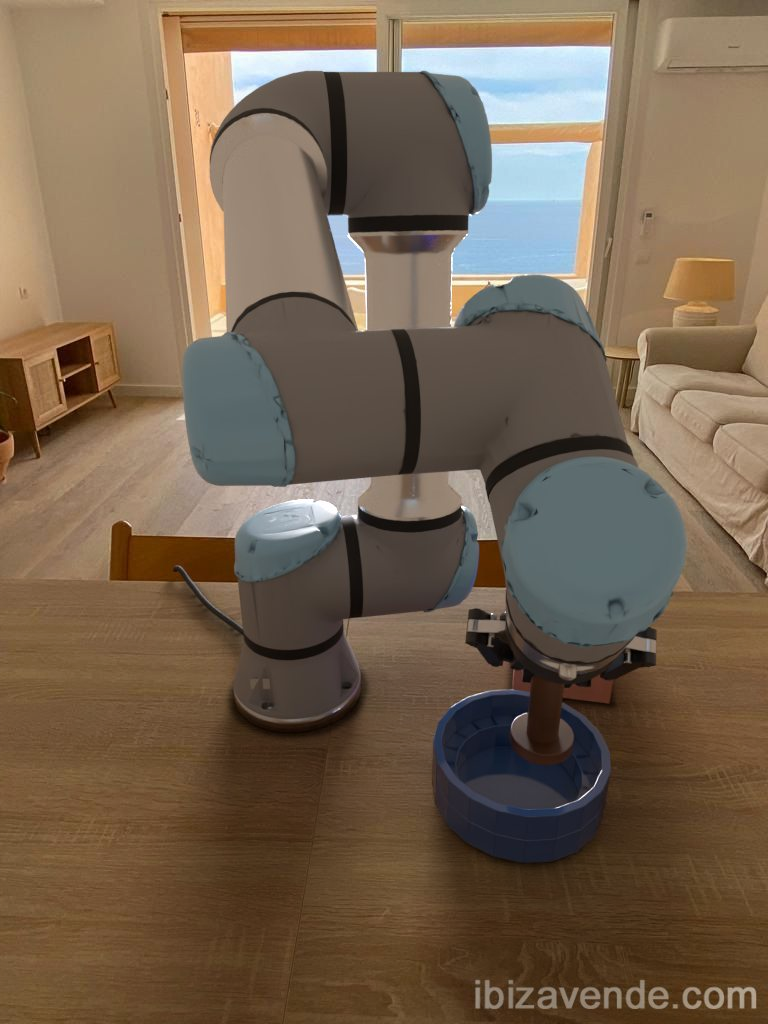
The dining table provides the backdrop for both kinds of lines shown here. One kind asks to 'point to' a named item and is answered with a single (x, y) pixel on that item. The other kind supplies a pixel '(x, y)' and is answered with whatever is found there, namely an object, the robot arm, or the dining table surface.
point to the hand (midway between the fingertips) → (546, 670)
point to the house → (574, 689)
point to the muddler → (543, 726)
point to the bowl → (516, 781)
